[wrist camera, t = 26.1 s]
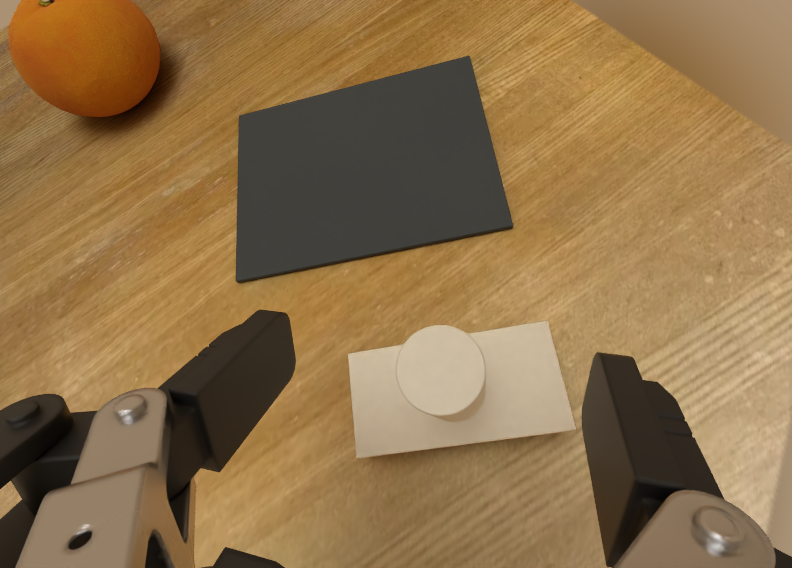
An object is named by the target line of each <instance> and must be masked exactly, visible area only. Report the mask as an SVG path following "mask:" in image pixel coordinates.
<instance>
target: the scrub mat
mask: <svg viewBox="0 0 792 568" xmlns="http://www.w3.org/2000/svg"><path fill="white" fill-rule="evenodd" d="M512 228H513V223H512V219H511V215H510V212H509V208H508V204H507V200H506V196H505V192H504V188H503V184H502V180H501V177H500V173H499V169H498V165H497V161H496V157H495V153H494V149H493V145H492V141H491V138H490V134H489V130H488V126H487V122H486V118H485V114H484V110H483V106H482V102H481V99H480V95H479V91H478V87H477V83H476V79H475V75H474V71H473V67H472V64H471V60H470V56H466V57H462V58H458V59H454V60H451V61H447V62H443V63H439V64H435V65H431V66H428V67H424V68H420V69H416V70H412V71H408V72H405V73H401V74H397V75H393V76H389V77H385V78H382V79H378V80H374V81H370V82H366V83H362V84H359V85H355V86H351V87H347V88H343V89H340V90H336V91H332V92H328V93H324V94H320V95H317V96H313V97H309V98H305V99H301V100H297V101H294V102H290V103H286V104H282V105H278V106H274V107H271V108H267V109H263V110H259V111H255V112H251V113H248V114H244V115H240V116H239V144H238V195H237V245H236V281H237V282H238V283H241V282H246V281H251V280H256V279H261V278H266V277H271V276H276V275H281V274H286V273H291V272H296V271H301V270H306V269H311V268H316V267H321V266H326V265H331V264H336V263H341V262H346V261H351V260H356V259H361V258H366V257H371V256H376V255H381V254H386V253H391V252H396V251H401V250H406V249H411V248H416V247H421V246H426V245H432V244H437V243H442V242H447V241H452V240H457V239H462V238H467V237H472V236H477V235H482V234H487V233H492V232H497V231H502V230H507V229H512Z"/></svg>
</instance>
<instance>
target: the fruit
mask: <svg viewBox="0 0 792 568" xmlns="http://www.w3.org/2000/svg"><path fill="white" fill-rule="evenodd" d="M9 50H10V54H11V57H12V60H13V62H14V64H15V66H16V68H17V70H18V72H19V74H20V75H21V77H22V78H23V79H24V81H25V82H26V83H27V84H28V85H29V86H30V87H31V88H32V89H33V91H34V92H36V93H37V94H38V95H39V96H40V97H41V98H43V99H44V100H45V101H47V102H49V103H50V104H52V105H54V106H55V107H57V108H59V109H61V110H63V111H66V112H69V113H72V114H76V115H80V116H87V117H108V116H113V115H116V114H120V113H123V112H125V111H127V110H129V109H131V108H132V107H134V106H135V105H137V104H138V103H139V102H141V101H142V100H143V99H144V98H145V96H146V95H147V94H148V93H149V91H150V90H151V88H152V86H153V84H154V82H155V80H156V77H157V74H158V71H159V65H160V46H159V41H158V38H157V35H156V32H155V30H154V28H153V26H152V24H151V22H150V21H149V19H148V18H147V17H146V16H145V14H144V13H143V12H142V10H141V9H140V8H139V7H138V6H137V5H135V4H134V3H133V2H132V1H131V0H22V1H21V2H20V3H19V5H18V7H17V9H16V11H15V13H14V15H13V17H12V19H11V22H10V25H9Z"/></svg>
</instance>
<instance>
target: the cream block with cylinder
mask: <svg viewBox="0 0 792 568" xmlns="http://www.w3.org/2000/svg"><path fill="white" fill-rule="evenodd" d="M348 362H349V374H350V387H351V399H352V411H353V424H354V436H355V448H356V458H365V457H373V456H381V455H388V454H396V453H404V452H412V451H419V450H427V449H435V448H442V447H450V446H458V445H466V444H473V443H481V442H489V441H496V440H504V439H512V438H520V437H527V436H535V435H543V434H550V433H558V432H566V431H574V430H576V426H575V422H574V418H573V414H572V411H571V407H570V403H569V399H568V396H567V392H566V388H565V384H564V380H563V377H562V373H561V369H560V365H559V362H558V358H557V354H556V350H555V347H554V343H553V339H552V335H551V332H550V328H549V324H548V321H541V322H535V323H529V324H523V325H517V326H511V327H505V328H499V329H493V330H487V331H481V332H475V333H469V334H467V333H466V332H464V331H462V330H460V329H458V328H456V327H452V326H448V325H433V326H428V327H425V328H423V329H421V330H419V331H417V332H415V333H414V334H413V335H411V336H410V337H409V338H408V339H407V340H406V342H405V343H404V344H403V345H397V346H391V347H385V348H379V349H373V350H367V351H361V352H355V353H349V354H348Z"/></svg>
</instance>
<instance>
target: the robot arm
mask: <svg viewBox="0 0 792 568" xmlns="http://www.w3.org/2000/svg"><path fill="white" fill-rule="evenodd" d="M295 363H296V358H295V351H294V345H293V338H292V332H291V325H290V320H289V317H288V315H287V314H286V313H283V312H275V311H267V310H258V311H256V312H255V313H254V314H253V315H252V316H251V317H249V318H248V319H247V320H246V321H245V322H244V323H243V324H241V325H238V326H236V327H234V328H232V329H230V330H228V331H226V332H224V333H222V334H221V335H220V336H218V337H217V338H216V339H215V340H214V341H213V342H211V343H210V344H209V347H206V348H204V349H203V350H202V351H201V352H200V353H199V354H198V356H195V357H194V358H193V359H192V360H190V361H189V362H188V363H187V364H186V365H184V366H183V367H182V368H181V369H180V370H179V371H177V372H176V373H175V374H174V375H173V376H172V377H170V378H169V379H168V380H167V381H166V382H165V383H163V384H162V385H161V386H160V387H159V388H158V389H156V388H141V389H136V390H132V391H129V392H126V393H123V394H121V395H119V396H117V397H115V398H113V399H112V400H110V401H109V402H107V403H106V404H105V405H103V406H102V407H101V408H100V409H99V410H98V411H89V412H75V413H70V411H69V409H68V407H67V405H66V403H65V401H64V399H63V398H62V397H61V396H59V395H56V394H43V395H37V396H33V397H29V398H26V399H23V400H20V401H18V402H16V403H13V404H11V405H9V406H7V407H6V408H4V409H2V410H1V411H0V489H1V488H2V487H3V486H5V485H6V484H7V483H8V482H9V481H11V482H12V483H13V485H14V486H15V488H16V490H17V491H18V493H19V495H20V496H21V498H22V500H21V501H20V502H19V503H18V504H17V505H16V506H15V507H14V508H12V509H11V510H10V511H9V512H8V513H7V514H6V515H5V516H3V517H2V518H1V519H0V568H195V563H194V531H195V498H196V483H195V480H194V477H193V476H194V475H195V474H196V473H197V472H198V470H199V469H200V468H203V469H207V470H212V471H216V472H220V471H221V470H222V469H223V467H224V466H225V465H226V464H227V462H228V461H229V460H230V458H231V457H232V456H233V454H234V453H235V452H236V450H237V449H238V448H239V447H240V445H241V444H242V443H243V441H244V440H245V439H246V437H247V436H248V435H249V433H250V432H251V431H252V429H253V428H254V427H255V426H256V424H257V423H258V422H259V420H260V419H261V418H262V416H263V415H264V414H265V412H266V411H267V410H268V409H269V407H270V406H271V405H272V403H273V402H274V401H275V399H276V398H277V397H278V395H279V394H280V393H281V392H282V390H283V389H284V388H285V386H286V385H287V384H288V382H289V381H290V380H291V378H292V376H293V373H294V370H295ZM684 419H685V417H684V415H683V413H682V411H681V409H680V407H679V405H678V403H677V401H676V399H675V398H674V397H673V396H672V395H671V394H670V393H668V392H667V391H666V390H665V389H664V388H663V387H662V386H661V385H660V384H659V383H658V382H653V381H646V380H642V377H641V375H640V372H639V370H638V367H637V365H636V363H635V360H634V358H633V357H631V356H623V355H615V354H607V353H599V352H597V353H596V354H595V356H594V358H593V362H592V366H591V371H590V375H589V380H588V384H587V388H586V393H585V397H584V402H583V407H582V431H583V436H584V442H585V448H586V453H587V459H588V464H589V470H590V476H591V481H592V487H593V492H594V498H595V504H596V509H597V515H598V521H599V526H600V532H601V537H602V543H603V549H604V554H605V560H606V565H607V566H608V567H612V568H792V557H791V556H789V555H787V554H785V553H783V552H781V551H779V550H777V549H776V548H774V547H773V546H772V544H771V542H770V540H769V538H768V537H767V535H766V534H765V532H764V531H763V530H762V529H761V528H760V526H759V525H758V524H757V523H756V522H755V521H754V520H753V519H752V518H751V517H749V516H748V515H747V514H746V513H744V512H743V511H742V510H740V509H739V508H737V507H736V506H734V505H733V504H731V503H729V502H727V501H726V500H724V498H723V495H722V493H721V491H720V489H719V487H718V485H717V483H716V481H715V479H714V477H713V475H712V473H711V471H710V469H709V467H708V465H707V463H706V461H705V459H704V456H703V454H702V452H701V450H700V448H699V446H698V444H697V442H696V440H695V438H693V437H692V432H691V430H690V428H689V426H688V424H687V422H685V420H684ZM203 568H285V567H283V566H282V565H280V564H279V563H277V562H276V561H272V560H269V559H265V558H262V557H258V556H255V555H251V554H248V553H244V552H241V551H237V550H234V549H231V548H227V547H225V548H224V550H223V551H222V553H221V554H220V556H219V558H218V559H217V561H216V562H215V564H214V565H213V566H209V567H203Z"/></svg>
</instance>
